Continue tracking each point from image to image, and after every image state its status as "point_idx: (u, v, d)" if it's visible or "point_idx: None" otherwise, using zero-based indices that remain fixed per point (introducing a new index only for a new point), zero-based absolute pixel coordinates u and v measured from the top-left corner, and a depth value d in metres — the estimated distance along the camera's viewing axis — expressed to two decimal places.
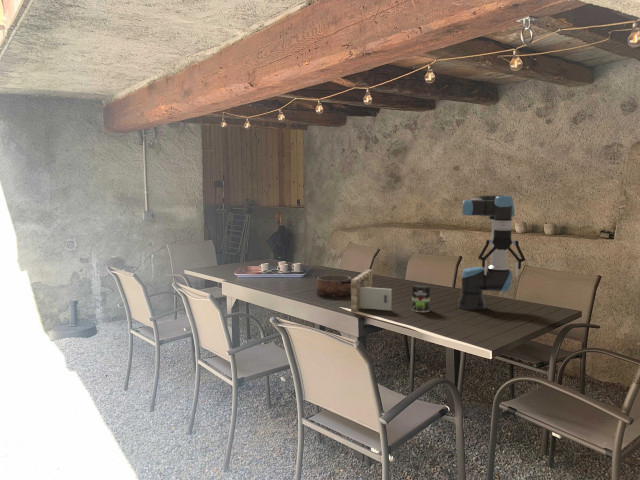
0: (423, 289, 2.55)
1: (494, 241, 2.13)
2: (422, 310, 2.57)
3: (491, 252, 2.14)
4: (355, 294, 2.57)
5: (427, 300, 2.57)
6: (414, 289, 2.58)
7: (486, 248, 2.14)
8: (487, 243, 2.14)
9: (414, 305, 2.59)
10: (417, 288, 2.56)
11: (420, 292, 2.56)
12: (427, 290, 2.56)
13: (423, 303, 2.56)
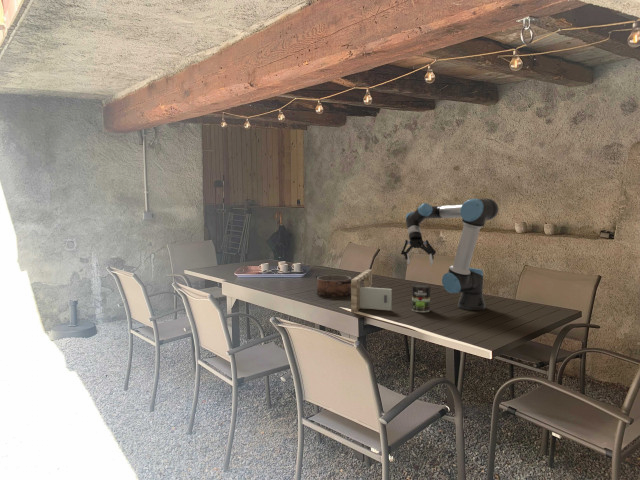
0: (423, 289, 2.55)
1: None
2: (422, 310, 2.57)
3: None
4: (355, 294, 2.57)
5: (427, 300, 2.57)
6: (414, 289, 2.58)
7: (427, 247, 2.75)
8: None
9: (414, 305, 2.59)
10: (417, 288, 2.56)
11: (420, 292, 2.56)
12: (427, 290, 2.56)
13: (423, 303, 2.56)
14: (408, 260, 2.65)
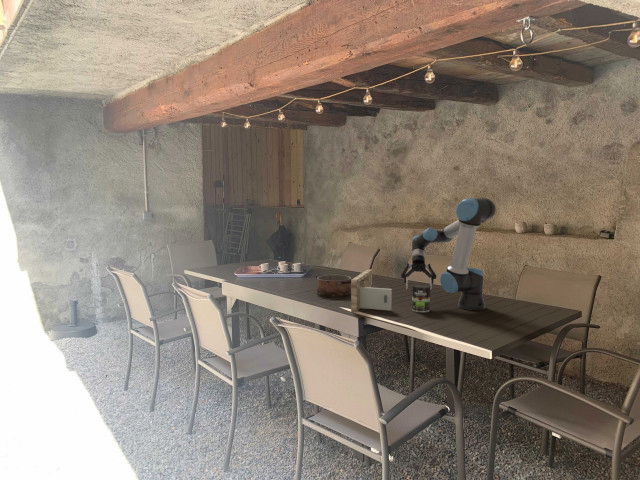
0: (423, 289, 2.55)
1: None
2: (422, 310, 2.57)
3: (426, 274, 2.73)
4: (355, 294, 2.57)
5: (427, 300, 2.57)
6: (414, 289, 2.58)
7: (430, 271, 2.74)
8: None
9: (414, 305, 2.59)
10: (417, 288, 2.56)
11: (420, 292, 2.56)
12: (427, 290, 2.56)
13: (423, 303, 2.56)
14: (406, 284, 2.68)
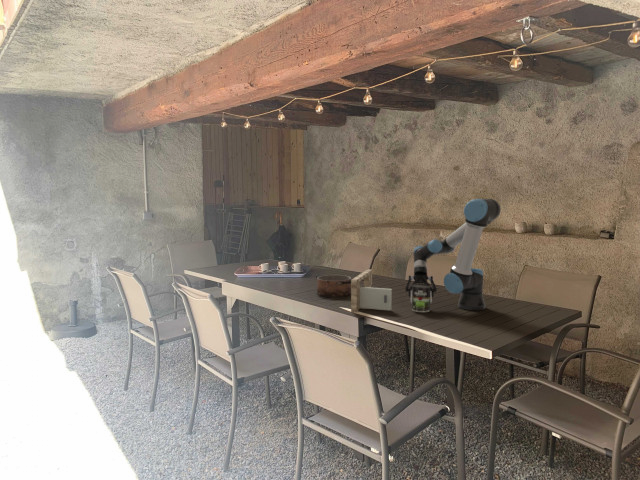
0: (423, 289, 2.55)
1: None
2: (422, 310, 2.57)
3: None
4: (355, 294, 2.57)
5: (427, 300, 2.57)
6: (414, 289, 2.58)
7: (431, 284, 2.66)
8: None
9: (414, 305, 2.59)
10: (417, 288, 2.56)
11: (420, 292, 2.56)
12: (427, 290, 2.56)
13: (423, 303, 2.56)
14: None
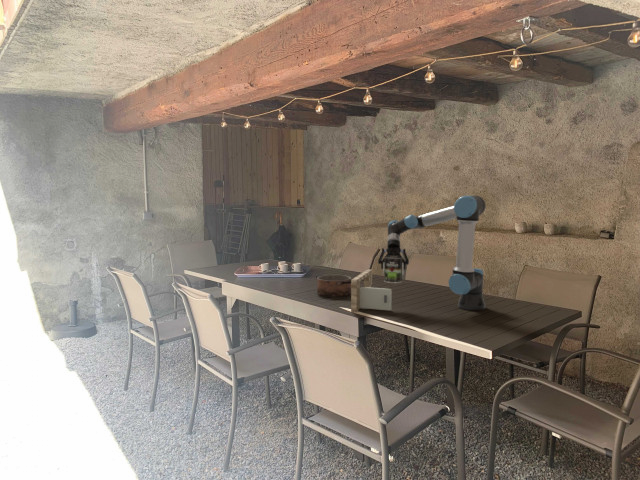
0: (395, 260, 2.59)
1: None
2: (394, 281, 2.61)
3: None
4: (355, 294, 2.57)
5: (399, 271, 2.61)
6: (386, 260, 2.62)
7: (404, 256, 2.70)
8: None
9: (386, 276, 2.63)
10: (389, 259, 2.60)
11: (392, 263, 2.60)
12: (399, 261, 2.60)
13: (395, 274, 2.60)
14: (383, 269, 2.63)
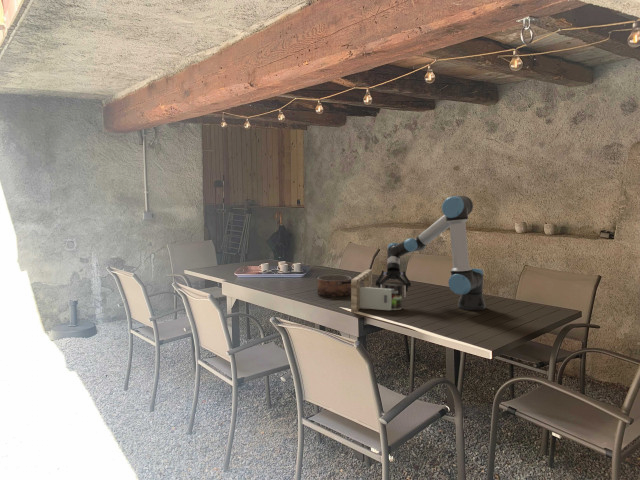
0: (395, 287, 2.61)
1: None
2: (394, 308, 2.62)
3: (400, 281, 2.71)
4: (355, 294, 2.57)
5: (399, 298, 2.62)
6: (386, 287, 2.63)
7: None
8: None
9: None
10: (389, 286, 2.62)
11: (392, 290, 2.61)
12: (399, 288, 2.62)
13: (395, 301, 2.62)
14: None
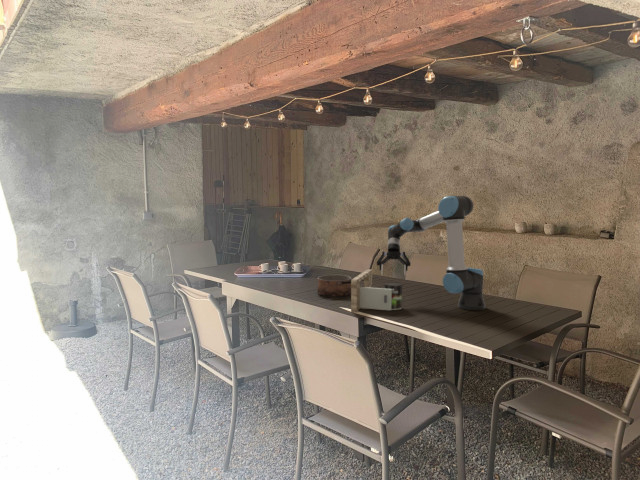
0: (394, 287, 2.61)
1: None
2: (394, 308, 2.62)
3: (400, 261, 2.83)
4: (355, 294, 2.57)
5: (399, 298, 2.62)
6: (386, 287, 2.63)
7: None
8: None
9: None
10: (389, 286, 2.62)
11: (392, 290, 2.61)
12: (399, 288, 2.62)
13: (395, 301, 2.62)
14: (381, 270, 2.77)
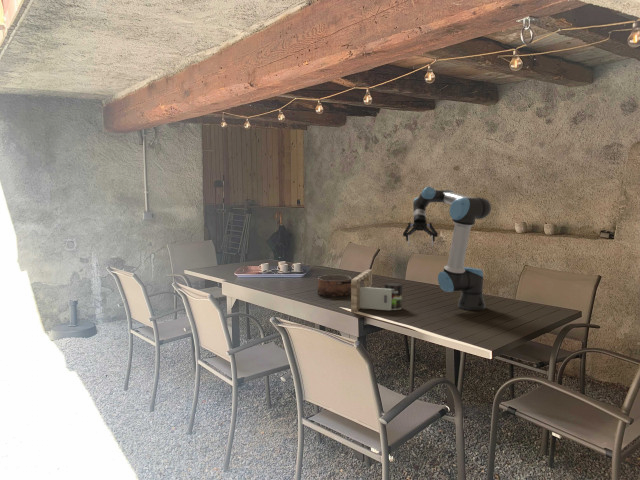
0: (395, 287, 2.61)
1: None
2: (394, 308, 2.62)
3: (427, 232, 2.79)
4: (355, 294, 2.57)
5: (399, 298, 2.62)
6: (386, 287, 2.63)
7: (431, 230, 2.79)
8: None
9: None
10: (389, 286, 2.62)
11: (392, 290, 2.61)
12: (399, 288, 2.62)
13: (395, 301, 2.62)
14: (408, 241, 2.73)
